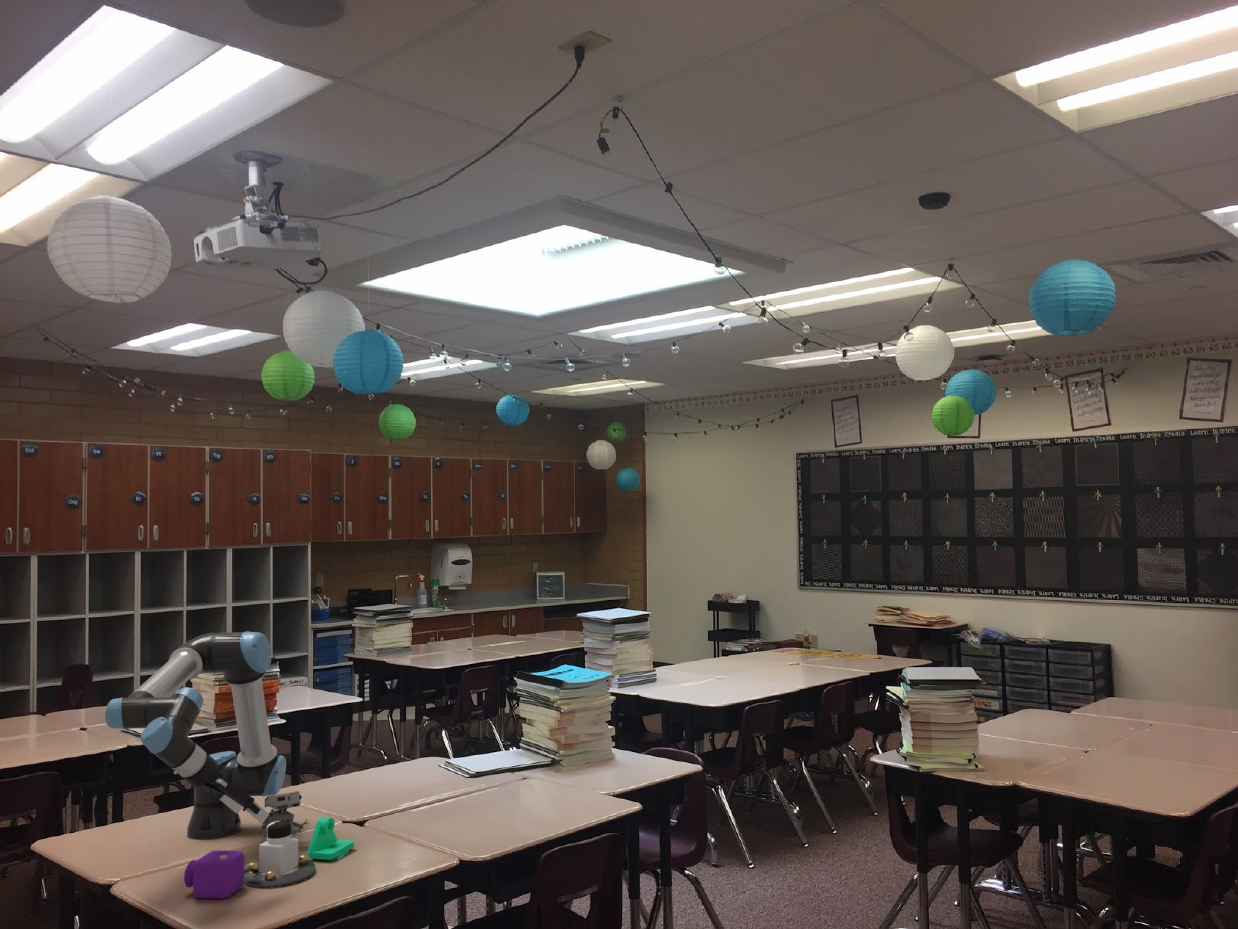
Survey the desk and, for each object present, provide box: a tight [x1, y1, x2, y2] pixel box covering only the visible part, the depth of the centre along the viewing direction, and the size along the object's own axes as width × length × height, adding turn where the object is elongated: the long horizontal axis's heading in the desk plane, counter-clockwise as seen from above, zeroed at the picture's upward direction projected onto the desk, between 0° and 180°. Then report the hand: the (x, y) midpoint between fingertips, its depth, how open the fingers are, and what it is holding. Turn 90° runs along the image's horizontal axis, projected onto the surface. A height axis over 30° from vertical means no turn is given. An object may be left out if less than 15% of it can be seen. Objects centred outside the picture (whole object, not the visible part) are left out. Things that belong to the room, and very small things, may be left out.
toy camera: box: [183, 850, 245, 900], centre depth 240 cm, size 11×14×10 cm
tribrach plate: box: [243, 853, 316, 889], centre depth 251 cm, size 18×18×4 cm
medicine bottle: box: [258, 821, 299, 874], centre depth 252 cm, size 7×7×12 cm
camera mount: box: [306, 816, 355, 861], centre depth 267 cm, size 12×8×10 cm, turn 163°
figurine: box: [261, 790, 309, 842], centre depth 276 cm, size 9×12×15 cm
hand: (252, 814), depth 247 cm, fingers open, 13 cm apart
